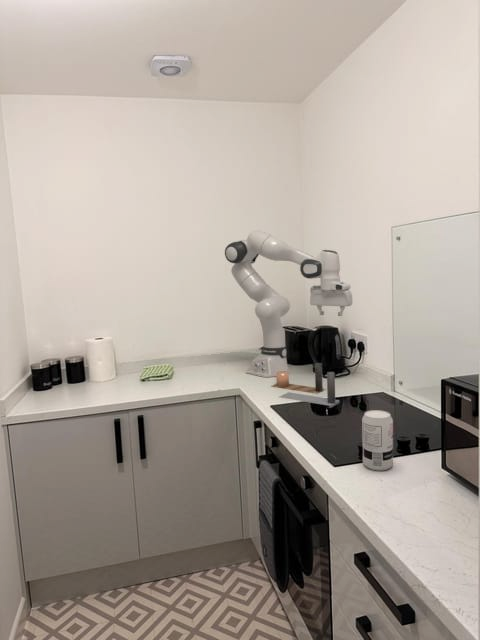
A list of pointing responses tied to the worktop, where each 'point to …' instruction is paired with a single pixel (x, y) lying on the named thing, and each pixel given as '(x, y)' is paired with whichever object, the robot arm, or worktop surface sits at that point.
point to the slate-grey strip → (318, 400)
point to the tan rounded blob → (282, 378)
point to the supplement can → (377, 440)
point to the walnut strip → (305, 388)
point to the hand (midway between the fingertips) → (330, 315)
